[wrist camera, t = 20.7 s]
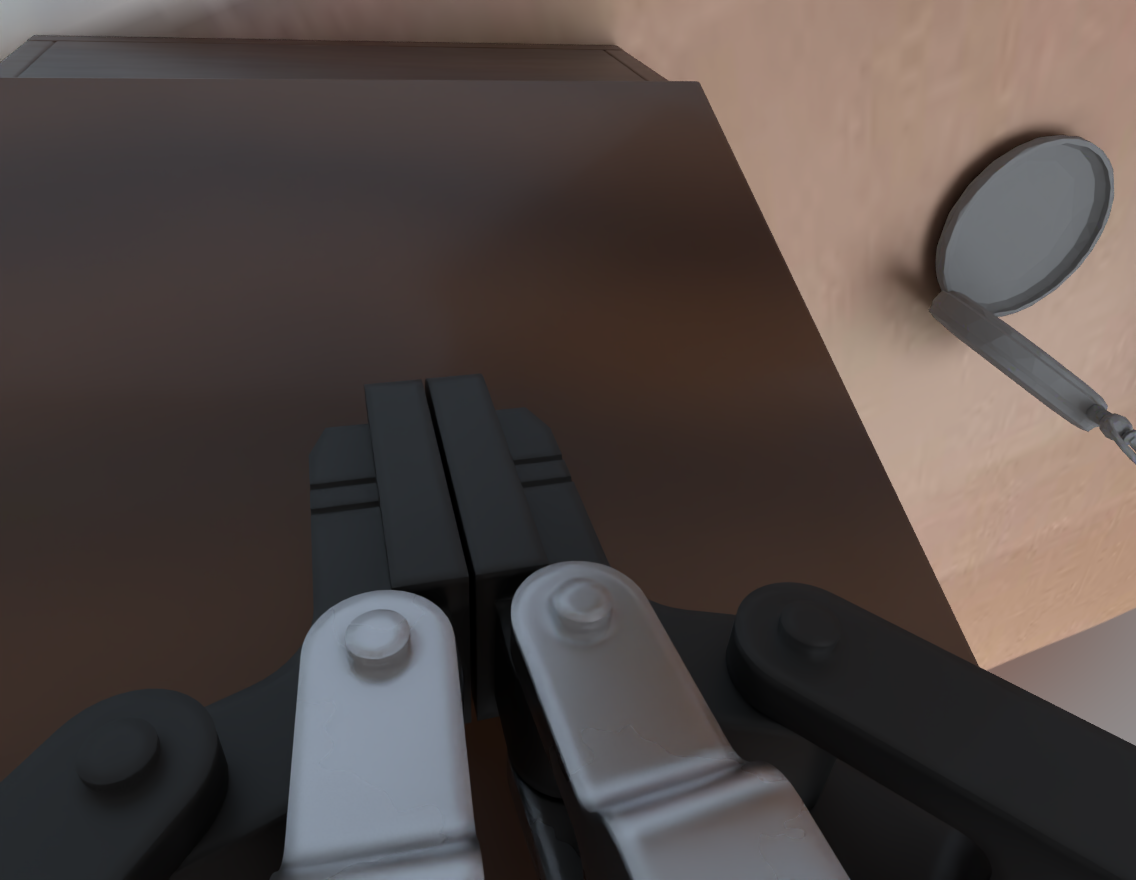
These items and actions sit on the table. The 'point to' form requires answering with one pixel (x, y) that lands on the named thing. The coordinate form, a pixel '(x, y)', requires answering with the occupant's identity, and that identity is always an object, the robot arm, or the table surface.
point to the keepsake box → (317, 60)
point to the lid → (392, 365)
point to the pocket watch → (1027, 265)
